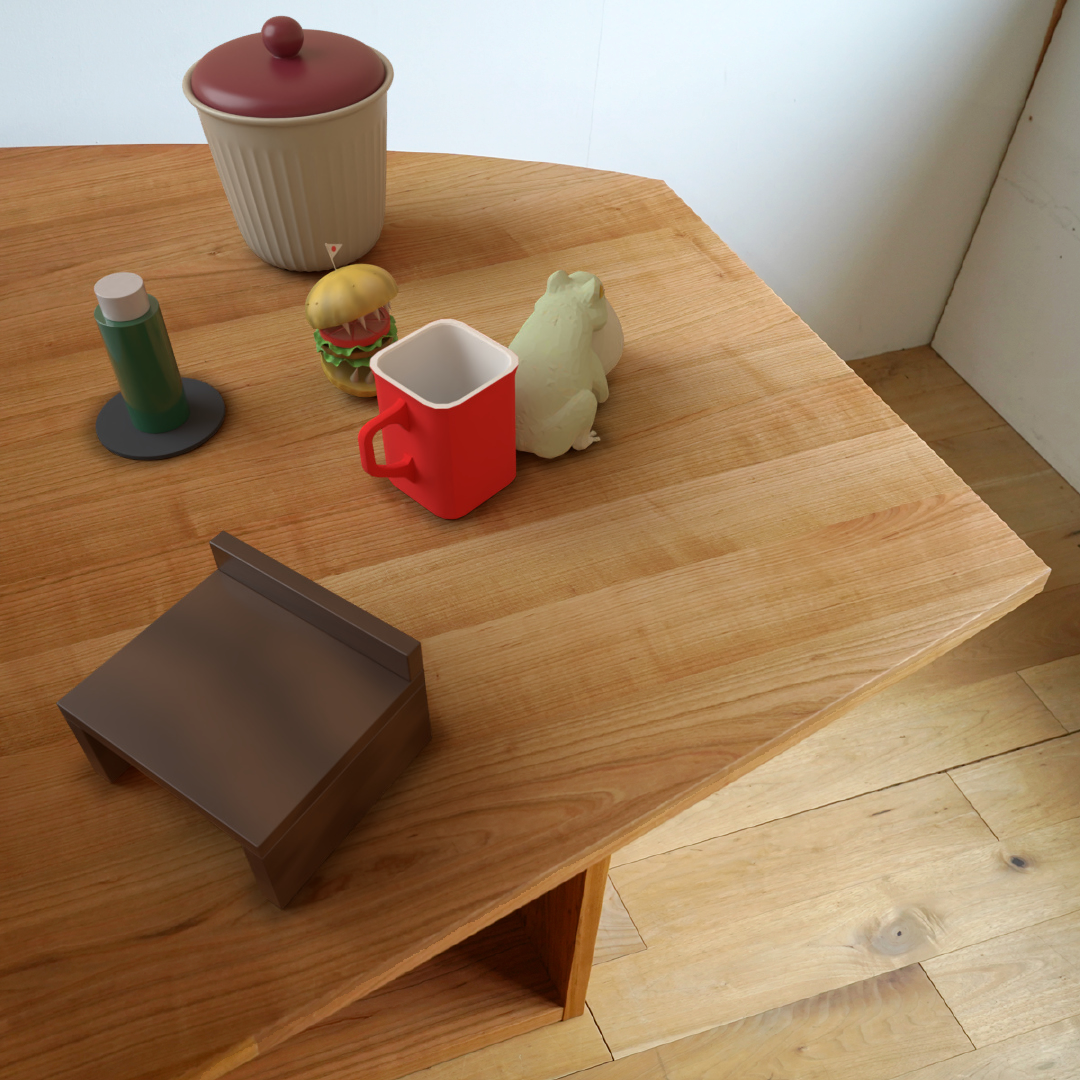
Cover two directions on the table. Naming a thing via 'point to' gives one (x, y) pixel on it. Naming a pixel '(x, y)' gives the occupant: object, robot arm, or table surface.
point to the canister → (298, 140)
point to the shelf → (261, 711)
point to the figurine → (564, 364)
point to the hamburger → (352, 322)
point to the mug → (444, 417)
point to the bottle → (140, 353)
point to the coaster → (152, 446)
